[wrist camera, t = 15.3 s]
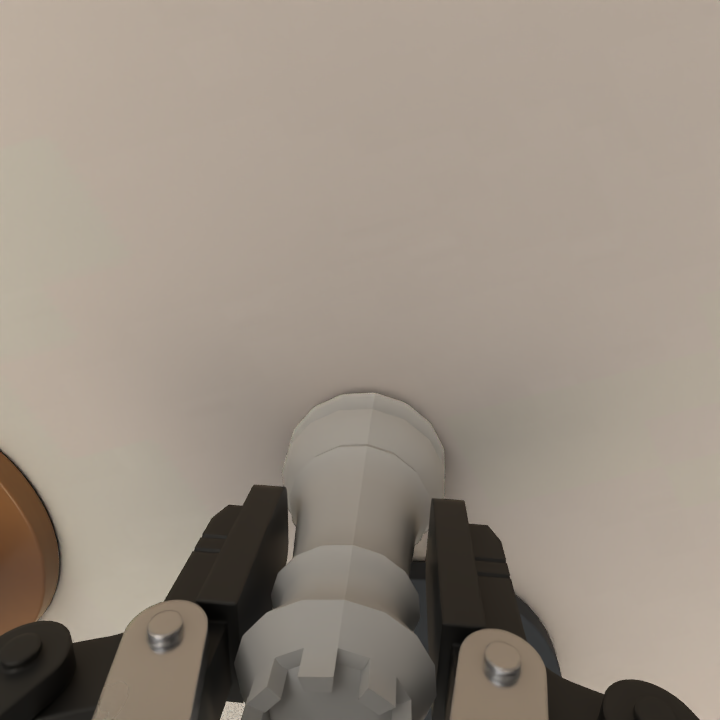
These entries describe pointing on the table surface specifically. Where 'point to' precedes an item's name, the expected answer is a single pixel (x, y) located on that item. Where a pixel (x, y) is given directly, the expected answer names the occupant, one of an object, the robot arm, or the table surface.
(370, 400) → the rook chess piece
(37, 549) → the cork coaster
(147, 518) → the table surface
